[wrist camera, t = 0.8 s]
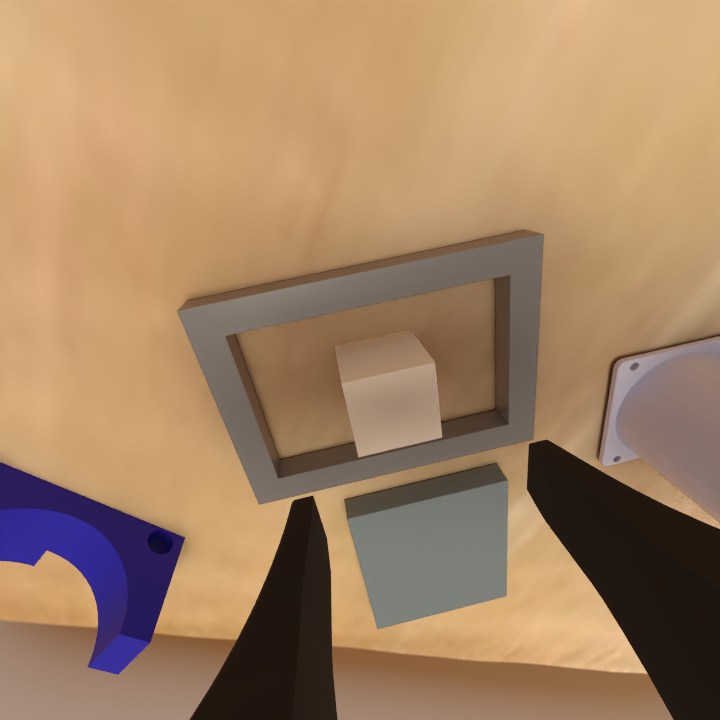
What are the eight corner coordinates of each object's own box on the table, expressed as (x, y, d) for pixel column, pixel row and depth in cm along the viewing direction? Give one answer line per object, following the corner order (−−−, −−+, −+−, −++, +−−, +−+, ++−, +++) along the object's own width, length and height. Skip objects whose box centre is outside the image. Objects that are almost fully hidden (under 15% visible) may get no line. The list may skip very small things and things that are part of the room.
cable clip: (-70, 500, 19) (-212, 621, 14) (-35, 444, 18) (-174, 552, 13) (147, 576, 24) (103, 689, 19) (185, 535, 23) (150, 642, 18)
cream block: (410, 328, 19) (435, 362, 15) (418, 393, 21) (442, 437, 17) (333, 345, 19) (341, 383, 15) (348, 409, 21) (358, 457, 17)
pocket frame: (525, 229, 17) (543, 234, 16) (519, 424, 23) (533, 439, 21) (187, 300, 17) (177, 311, 15) (261, 484, 22) (258, 504, 20)
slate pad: (496, 463, 24) (507, 480, 22) (497, 577, 29) (506, 596, 28) (344, 499, 23) (347, 519, 22) (374, 608, 29) (377, 629, 27)
